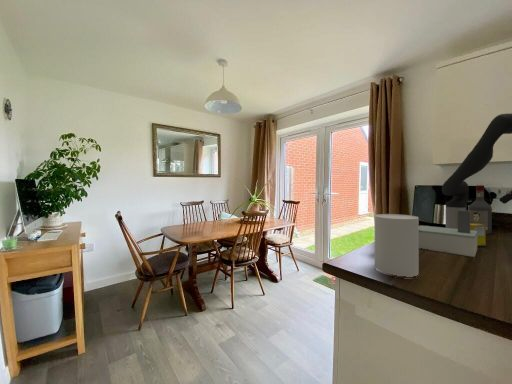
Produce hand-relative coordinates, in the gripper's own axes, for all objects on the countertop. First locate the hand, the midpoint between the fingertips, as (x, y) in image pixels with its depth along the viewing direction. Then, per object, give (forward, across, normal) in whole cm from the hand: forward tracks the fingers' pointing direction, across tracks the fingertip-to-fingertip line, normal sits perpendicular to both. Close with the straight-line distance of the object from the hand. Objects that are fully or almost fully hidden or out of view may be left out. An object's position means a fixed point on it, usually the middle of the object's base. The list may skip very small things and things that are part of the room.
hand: (501, 201), depth 94 cm
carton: (+30, 0, +4) cm, 30 cm away
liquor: (+23, -59, +11) cm, 64 cm away
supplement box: (+23, -17, +10) cm, 31 cm away
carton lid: (+24, 0, -2) cm, 24 cm away
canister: (+35, +48, -2) cm, 60 cm away
